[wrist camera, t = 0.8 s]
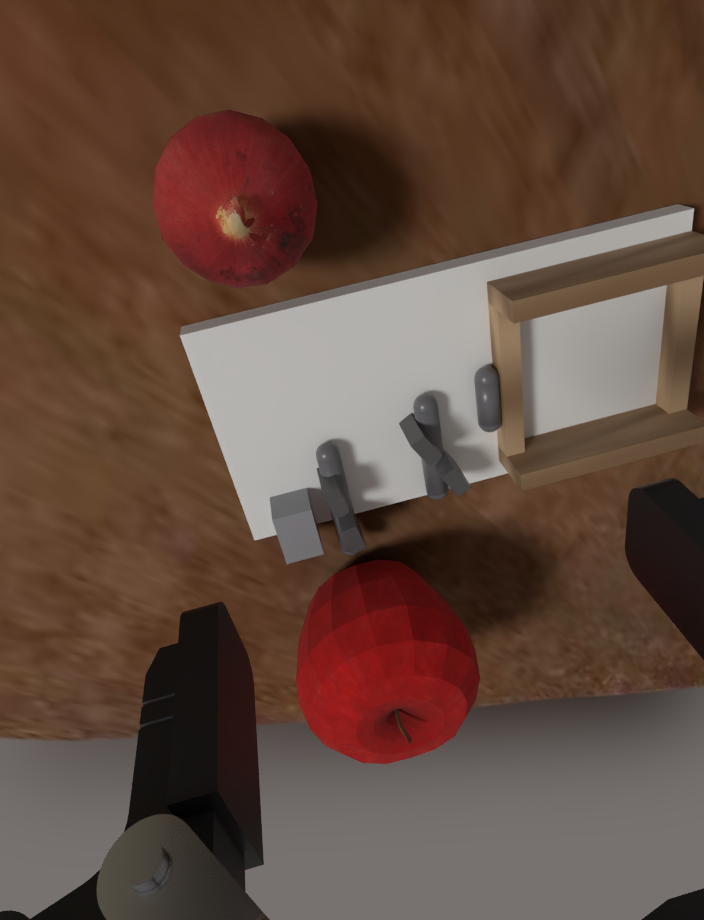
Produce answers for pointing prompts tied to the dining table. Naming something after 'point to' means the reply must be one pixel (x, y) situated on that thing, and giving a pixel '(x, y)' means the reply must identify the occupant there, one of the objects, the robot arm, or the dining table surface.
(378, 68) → the dining table surface
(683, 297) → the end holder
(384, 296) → the board
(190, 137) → the onion
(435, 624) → the apple
